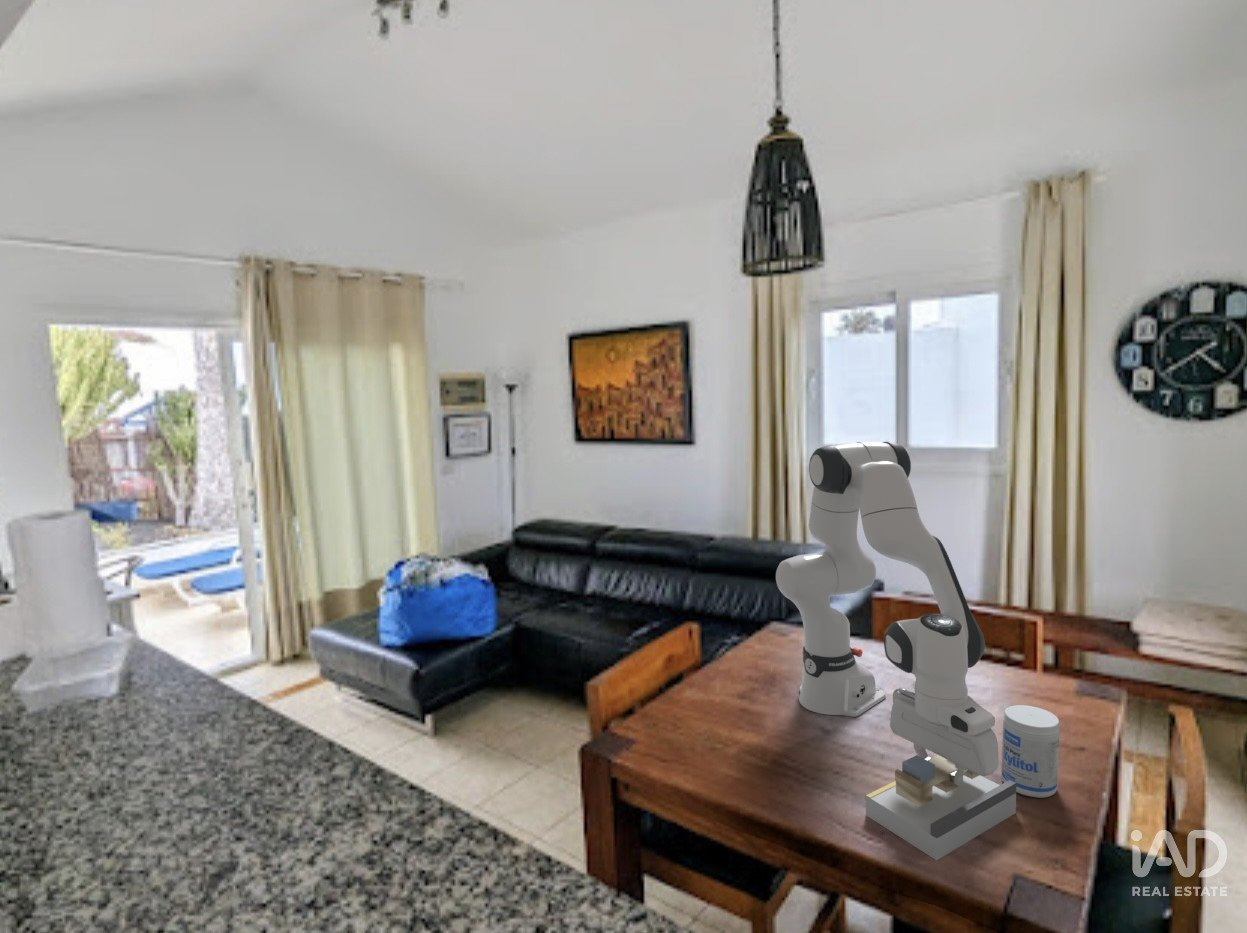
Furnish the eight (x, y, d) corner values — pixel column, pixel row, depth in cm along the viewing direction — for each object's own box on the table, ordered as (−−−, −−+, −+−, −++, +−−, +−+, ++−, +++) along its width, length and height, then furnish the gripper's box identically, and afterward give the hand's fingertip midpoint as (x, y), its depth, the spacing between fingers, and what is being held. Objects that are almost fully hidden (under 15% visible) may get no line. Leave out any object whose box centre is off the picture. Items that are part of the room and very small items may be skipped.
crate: (916, 768, 128) (916, 755, 127) (934, 777, 124) (934, 764, 124) (902, 775, 126) (902, 762, 125) (920, 784, 122) (920, 771, 122)
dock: (943, 775, 141) (943, 748, 141) (1015, 813, 128) (1016, 782, 128) (865, 815, 130) (865, 785, 129) (936, 860, 117) (936, 827, 116)
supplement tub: (996, 788, 136) (997, 718, 134) (1007, 767, 143) (1008, 699, 142) (1053, 806, 130) (1055, 732, 128) (1061, 782, 137) (1063, 712, 135)
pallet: (959, 761, 135) (960, 739, 135) (984, 772, 131) (984, 750, 131) (894, 793, 126) (894, 770, 125) (918, 807, 122) (918, 783, 121)
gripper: (882, 688, 134) (883, 755, 136) (982, 731, 117) (981, 807, 118) (904, 680, 137) (904, 746, 139) (1004, 720, 120) (1003, 795, 121)
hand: (940, 774), depth 128 cm, fingers closed on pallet, 5 cm apart
